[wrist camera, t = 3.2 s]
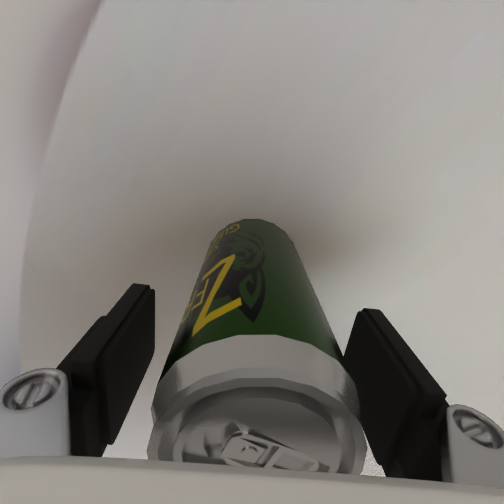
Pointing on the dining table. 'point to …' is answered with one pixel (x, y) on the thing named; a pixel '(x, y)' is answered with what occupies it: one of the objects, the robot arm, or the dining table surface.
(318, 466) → the beer can
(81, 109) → the dining table surface
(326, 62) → the dining table surface
